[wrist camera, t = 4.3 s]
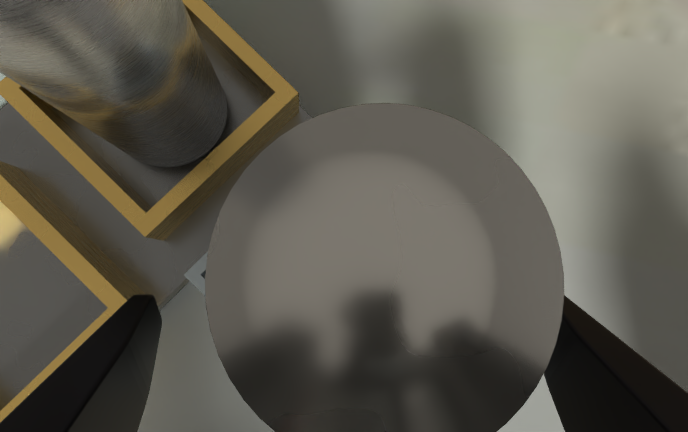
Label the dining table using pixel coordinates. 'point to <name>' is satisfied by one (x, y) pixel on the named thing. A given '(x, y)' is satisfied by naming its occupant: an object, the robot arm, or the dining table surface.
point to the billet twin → (119, 72)
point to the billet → (384, 277)
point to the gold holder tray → (113, 209)
